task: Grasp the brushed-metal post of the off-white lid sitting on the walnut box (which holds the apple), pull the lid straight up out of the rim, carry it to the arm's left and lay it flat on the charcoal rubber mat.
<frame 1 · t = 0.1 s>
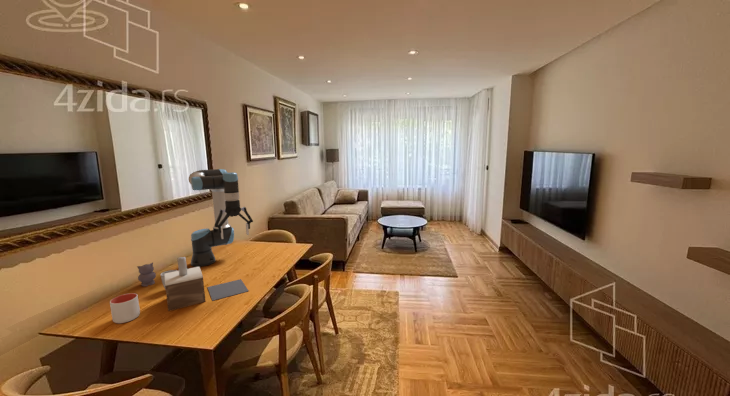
hand: (235, 236, 169), 28 cm above the table, fingers open, 13 cm apart
mat: (227, 289, 165), on the table
apple: (186, 300, 154), resting in box
lid: (183, 278, 152), point 12 cm above the table, touching box
cat figurine: (148, 284, 173), on the table
box: (186, 299, 154), on the table
cup 2: (171, 289, 166), on the table
cup: (126, 318, 137), on the table
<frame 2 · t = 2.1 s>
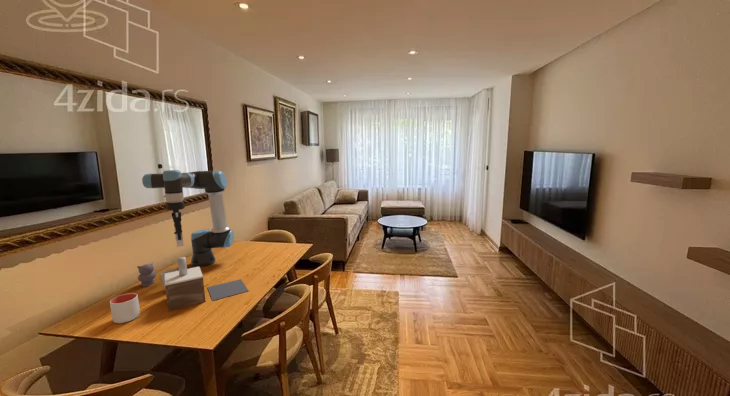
hand: (179, 242, 149), 31 cm above the table, fingers open, 13 cm apart
nothing on the table moved.
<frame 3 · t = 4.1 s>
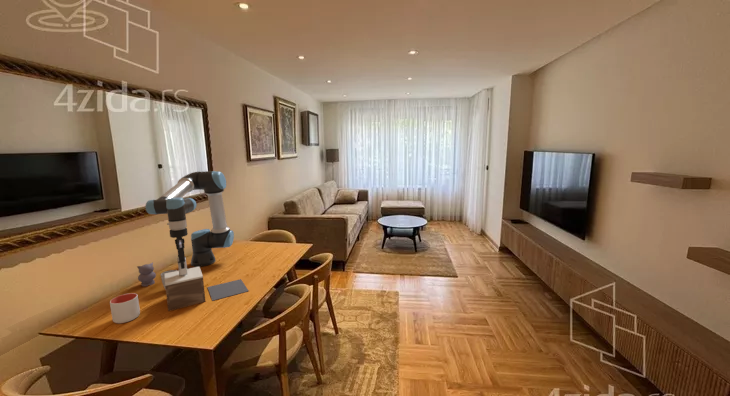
hand: (183, 272, 151), 15 cm above the table, fingers closed on lid, 4 cm apart
lid: (183, 278, 152), point 12 cm above the table, touching box, gripper
everything else where it was.
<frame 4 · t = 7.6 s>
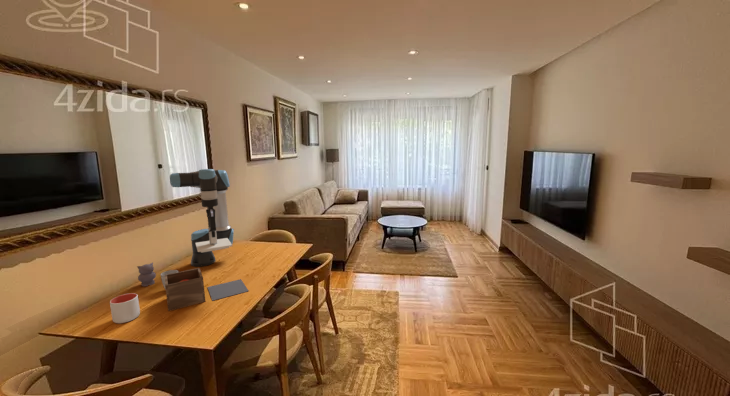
hand: (213, 241, 158), 29 cm above the table, fingers closed on lid, 4 cm apart
lid: (213, 247, 158), point 26 cm above the table, touching gripper
everything else where it was.
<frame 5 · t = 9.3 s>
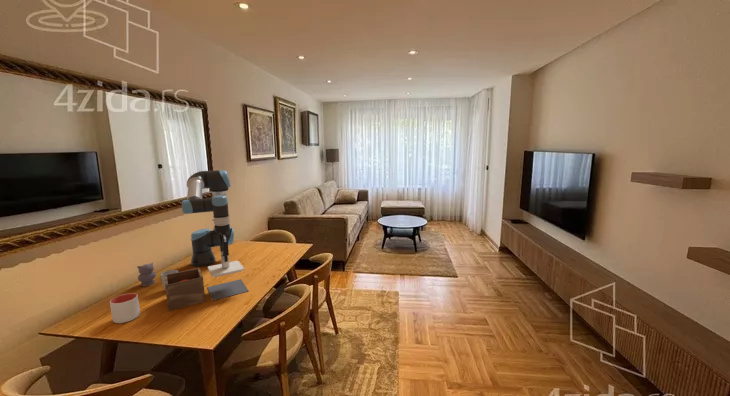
hand: (225, 265, 162), 14 cm above the table, fingers closed on lid, 4 cm apart
lid: (226, 270, 163), point 11 cm above the table, touching gripper
everything else where it was.
when the fingers open (5 cm above the table, at t = 11.0 s): lid drops 1 cm, resting on mat.
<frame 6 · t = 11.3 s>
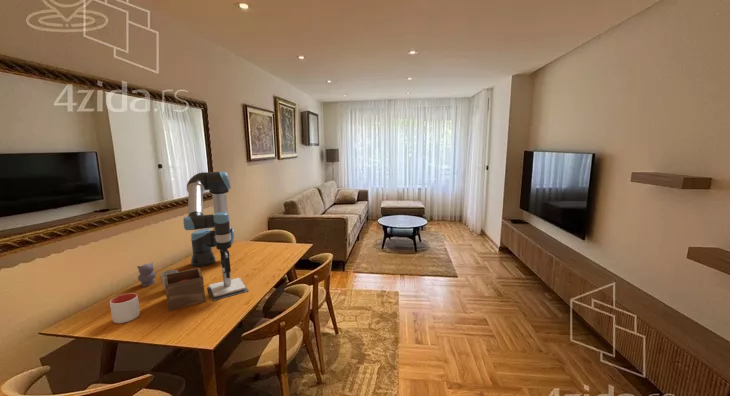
hand: (227, 280, 164), 5 cm above the table, fingers open, 7 cm apart
lid: (227, 288, 165), resting on mat
everything else where it was.
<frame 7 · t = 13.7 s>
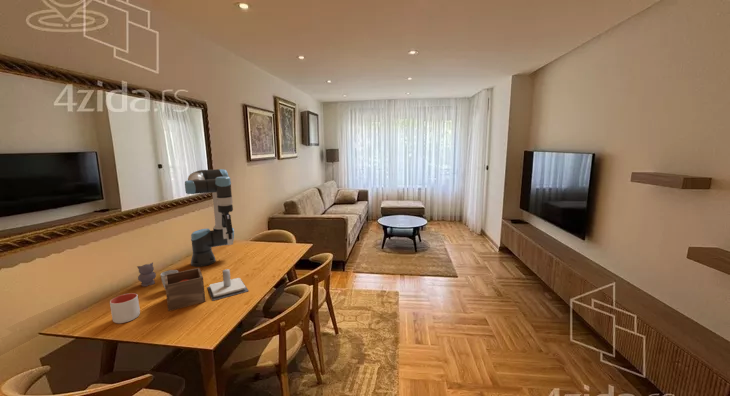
hand: (228, 241, 167), 26 cm above the table, fingers open, 13 cm apart
nothing on the table moved.
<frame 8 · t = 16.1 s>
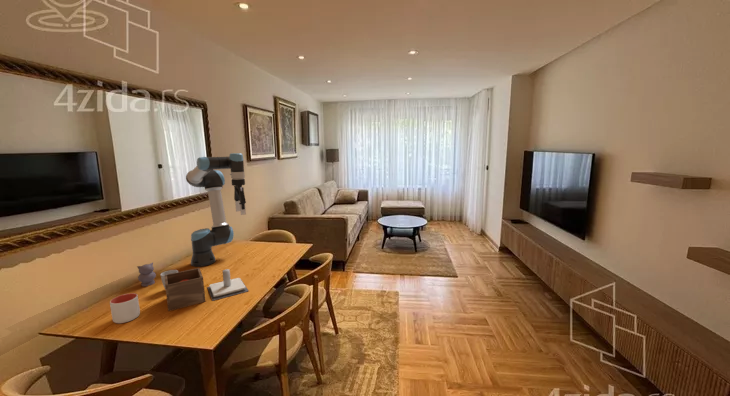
hand: (240, 212, 183), 39 cm above the table, fingers open, 13 cm apart
nothing on the table moved.
at the end: lid inside the target area (0.1 cm from its centre), resting on mat; lid tilted 0°; the gripper is holding nothing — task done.
